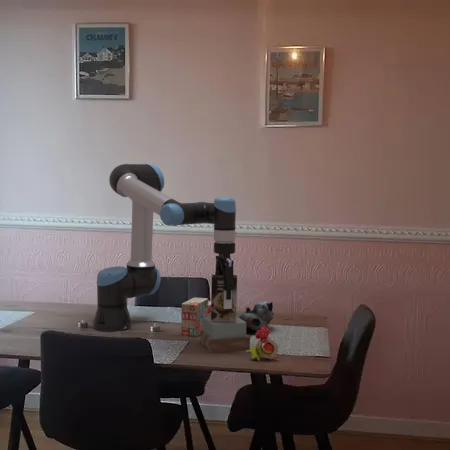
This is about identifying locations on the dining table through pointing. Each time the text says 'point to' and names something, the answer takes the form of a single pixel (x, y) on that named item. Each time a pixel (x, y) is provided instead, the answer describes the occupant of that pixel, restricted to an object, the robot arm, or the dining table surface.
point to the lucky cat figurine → (258, 315)
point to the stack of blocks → (194, 315)
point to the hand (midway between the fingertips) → (224, 305)
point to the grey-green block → (224, 328)
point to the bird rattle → (268, 348)
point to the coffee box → (222, 301)
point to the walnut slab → (225, 343)
